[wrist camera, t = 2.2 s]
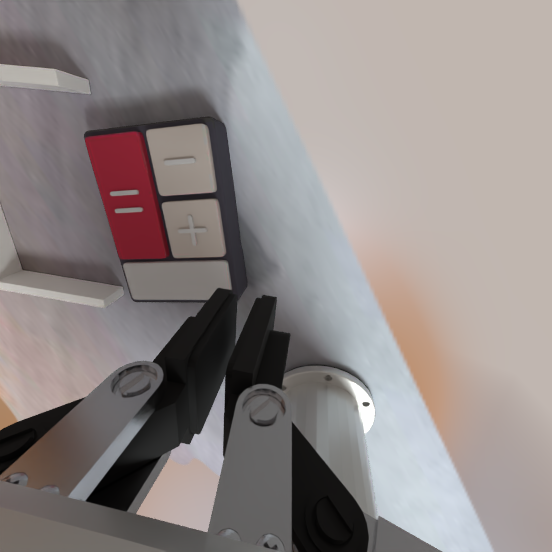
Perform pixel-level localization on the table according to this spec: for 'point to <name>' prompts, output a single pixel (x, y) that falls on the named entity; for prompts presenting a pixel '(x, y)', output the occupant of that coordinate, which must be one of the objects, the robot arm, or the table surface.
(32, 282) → the white u-shaped fence
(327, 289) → the table surface
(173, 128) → the calculator
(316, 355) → the table surface
